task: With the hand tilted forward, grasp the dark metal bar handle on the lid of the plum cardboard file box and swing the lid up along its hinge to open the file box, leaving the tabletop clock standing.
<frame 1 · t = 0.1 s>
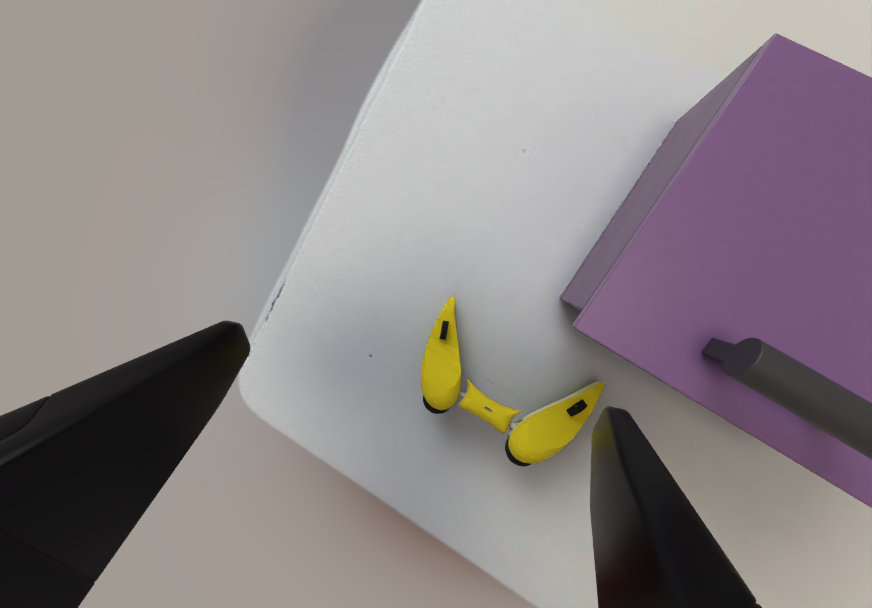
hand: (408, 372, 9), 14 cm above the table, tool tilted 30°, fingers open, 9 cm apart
file box: (726, 274, 20), on the table
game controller: (500, 375, 23), on the table
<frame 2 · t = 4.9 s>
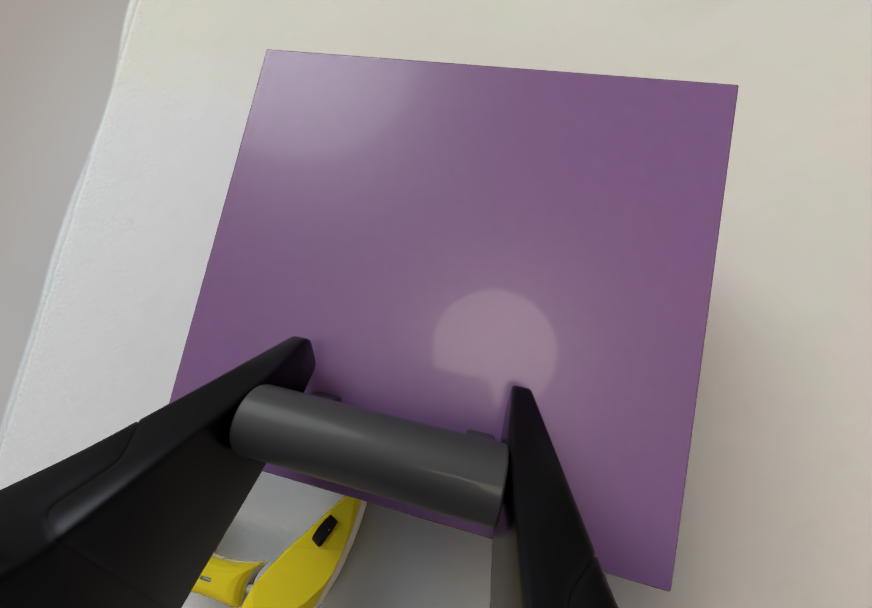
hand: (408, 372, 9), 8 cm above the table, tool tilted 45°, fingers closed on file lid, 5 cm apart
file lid: (424, 261, 8), point 8 cm above the table, hinge at 0.0°, touching gripper
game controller: (264, 511, 17), on the table
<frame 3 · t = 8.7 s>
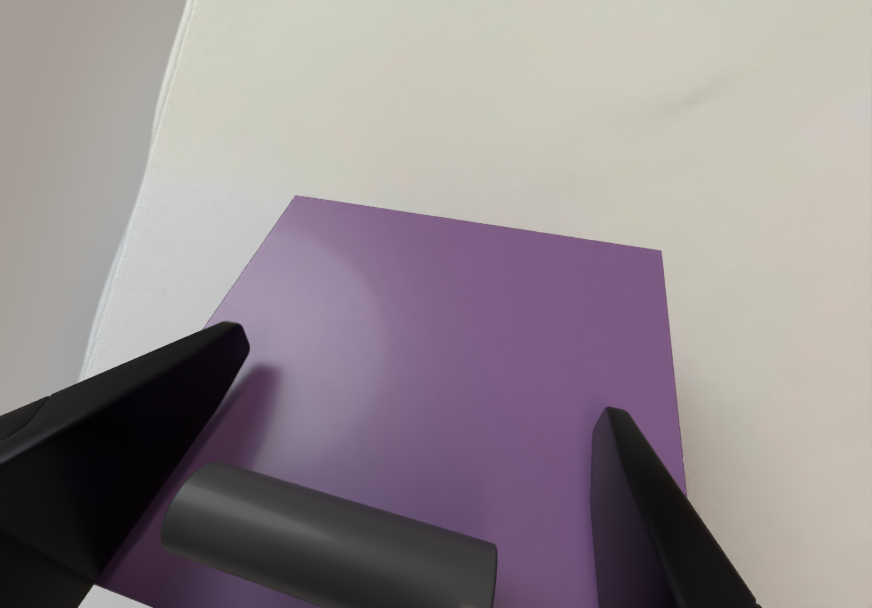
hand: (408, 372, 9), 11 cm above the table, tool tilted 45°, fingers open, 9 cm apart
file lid: (411, 354, 9), point 11 cm above the table, hinge at 26.6°
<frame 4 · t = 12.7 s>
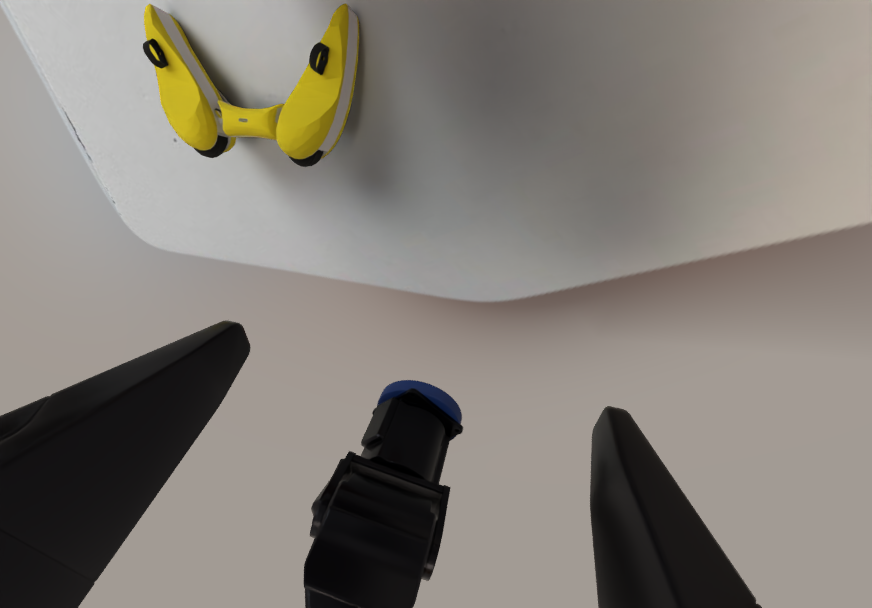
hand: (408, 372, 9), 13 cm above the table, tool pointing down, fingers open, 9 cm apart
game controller: (277, 82, 18), on the table
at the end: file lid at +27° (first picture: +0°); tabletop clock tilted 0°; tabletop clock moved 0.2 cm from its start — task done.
